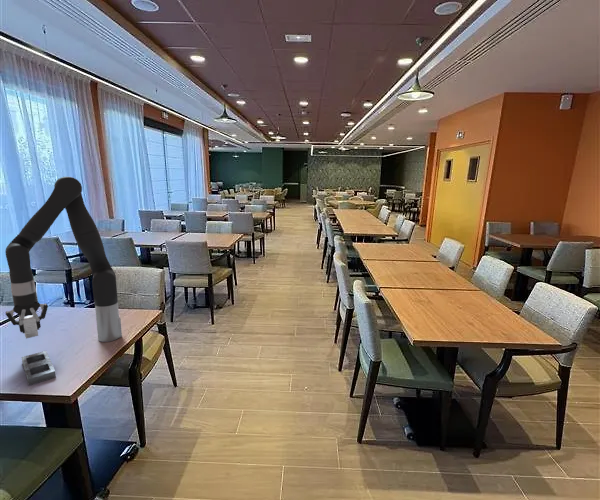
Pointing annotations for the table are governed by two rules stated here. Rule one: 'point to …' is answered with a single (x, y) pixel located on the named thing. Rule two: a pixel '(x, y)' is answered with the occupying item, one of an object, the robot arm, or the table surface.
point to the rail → (38, 367)
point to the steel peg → (30, 326)
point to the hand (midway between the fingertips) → (30, 330)
